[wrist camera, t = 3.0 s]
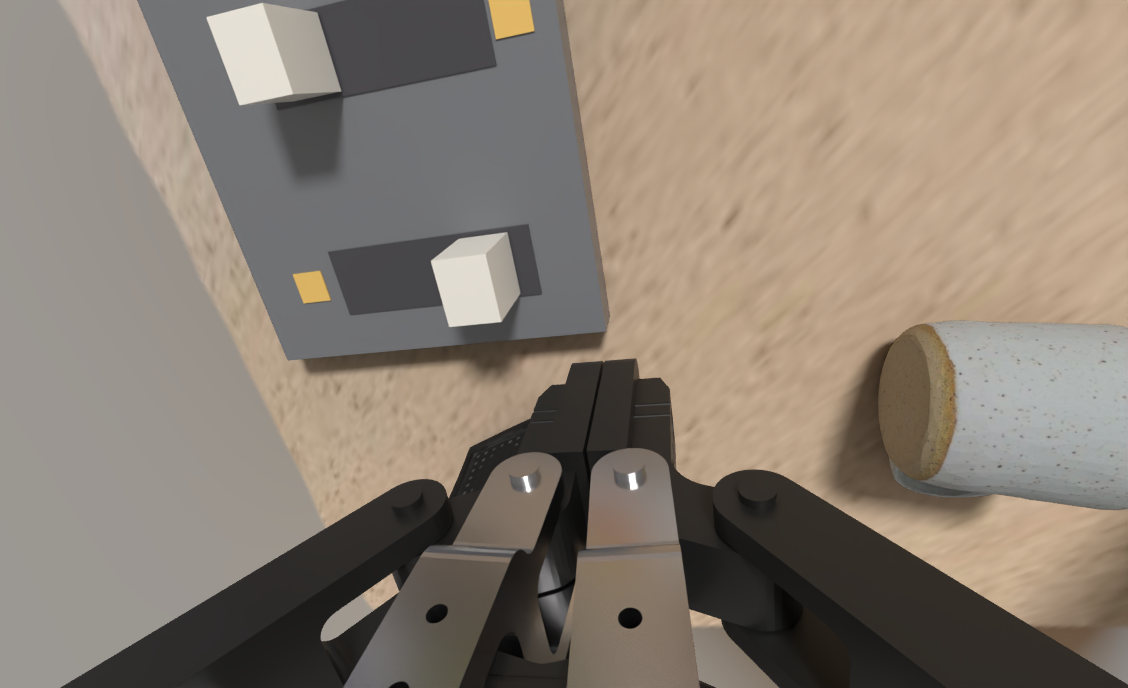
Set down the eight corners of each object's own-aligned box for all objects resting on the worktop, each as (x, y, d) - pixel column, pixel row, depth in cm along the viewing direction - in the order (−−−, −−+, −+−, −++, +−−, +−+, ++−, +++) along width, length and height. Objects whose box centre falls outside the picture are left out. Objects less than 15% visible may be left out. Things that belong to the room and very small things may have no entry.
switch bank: (546, -110, 22) (535, -127, 20) (609, 315, 29) (606, 332, 27) (168, -7, 26) (130, -13, 24) (308, 345, 33) (286, 361, 31)
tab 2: (507, 232, 26) (485, 254, 22) (520, 293, 27) (501, 321, 24) (458, 238, 26) (430, 261, 23) (473, 298, 27) (449, 326, 24)
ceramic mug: (887, 294, 26) (963, 376, 19) (1086, 296, 25) (1242, 385, 18) (847, 472, 31) (898, 588, 24) (1013, 482, 30) (1115, 608, 23)
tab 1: (317, 12, 23) (262, 2, 20) (341, 91, 24) (293, 93, 21) (267, 24, 23) (206, 17, 20) (293, 101, 25) (239, 105, 22)
